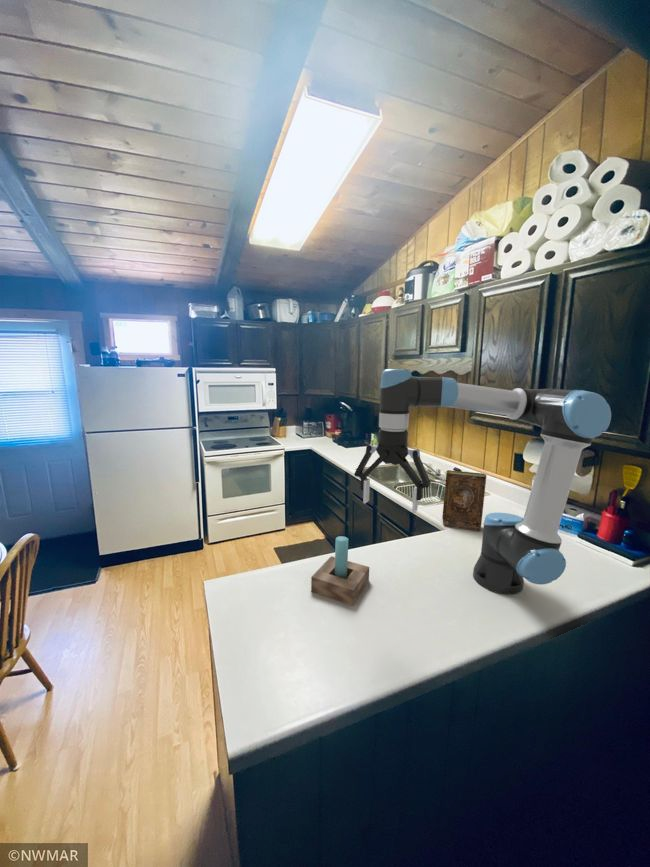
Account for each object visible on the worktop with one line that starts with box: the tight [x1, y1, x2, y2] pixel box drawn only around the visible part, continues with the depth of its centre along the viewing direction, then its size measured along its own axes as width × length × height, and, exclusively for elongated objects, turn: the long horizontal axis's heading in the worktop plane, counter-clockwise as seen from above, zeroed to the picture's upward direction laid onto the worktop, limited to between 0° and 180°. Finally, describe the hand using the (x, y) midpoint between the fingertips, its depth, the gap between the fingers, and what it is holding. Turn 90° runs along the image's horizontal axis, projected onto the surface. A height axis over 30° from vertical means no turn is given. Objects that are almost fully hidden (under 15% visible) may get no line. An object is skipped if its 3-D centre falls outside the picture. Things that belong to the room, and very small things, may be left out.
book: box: [441, 470, 487, 532], centre depth 155 cm, size 16×6×25 cm, turn 73°
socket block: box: [310, 556, 370, 606], centre depth 110 cm, size 14×14×5 cm
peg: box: [334, 535, 349, 579], centre depth 109 cm, size 4×4×16 cm
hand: (389, 506), depth 93 cm, fingers open, 13 cm apart
